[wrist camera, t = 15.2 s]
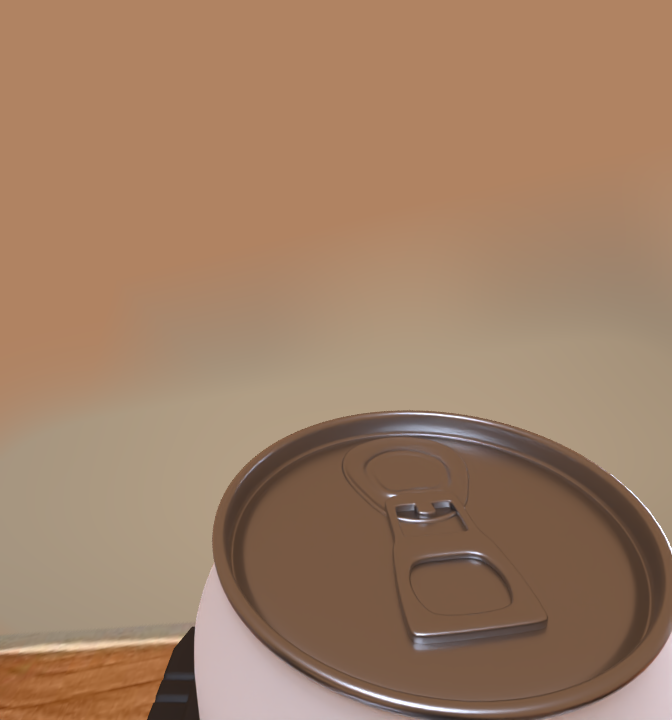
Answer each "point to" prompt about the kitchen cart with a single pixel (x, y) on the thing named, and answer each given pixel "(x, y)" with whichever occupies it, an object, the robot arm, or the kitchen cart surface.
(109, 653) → the kitchen cart surface
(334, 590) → the can
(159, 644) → the kitchen cart surface
